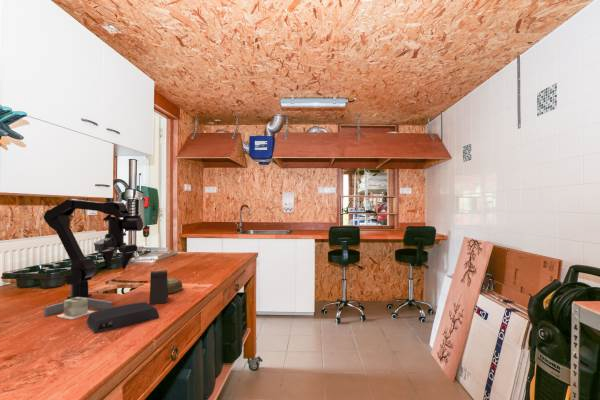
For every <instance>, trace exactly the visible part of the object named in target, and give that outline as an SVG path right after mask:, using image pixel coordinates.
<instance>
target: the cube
mask: <svg viewBox="0 0 600 400" xmlns="http://www.w3.org/2000/svg"><path fill="white" fill-rule="evenodd" d="M88 298H89V297H85V298H83V297H76V298H67V299H65V300H63V302H64V311H63V314H64V315H67V316H72V317H74V316H77V315H81V314H84V313H87V312H88V310H89V307H88Z"/></svg>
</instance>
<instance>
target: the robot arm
mask: <svg viewBox="0 0 600 400" xmlns="http://www.w3.org/2000/svg"><path fill="white" fill-rule="evenodd" d="M77 209H78V210H85V211H95V212H101V213H102V214H105V215H106V216H105V217H104V218H102V221H103V222H104V221H106V222H108V223H107V225H108V228H107V232H108V233H105V234H104V237H103V238H102V239H99V240H98V241H95V242H94V243H93V245H94V251H95V252H97V254H100V255H101V256H102V258H103V261H104V263H105V266H106V268H110V267H111V264H112V261H113V255H114V251H115V250H116V251H118V252H119V253H118V255H119V256H120V258H121V259H120V260H121V268H122V270H125V269H126V268H127V266H128V264H129V262H130V260H131V258H132V256H133V255H134V254H136V252H138V245H137V244H131V243H128V244H127V243H126V242H124V240H125V239H124V238H125V236H127V233H126V232H141V231H142V230H143V229H144V222H143V219H142V217H141V216H142V215H141V214H136V215H132V214H131V213H130V212H129V210H128V209H127V207H126V204H125V203H124V202H123V201H103V202H100V201H91V200H83V199H77V198H67V199H66V200H64V201H63V202H62V203H59V204H57V205H56V206H54V207H52V208H51V209H48V210H46V211H45V213H44V215H43V219H44V221H45V223H46V224H47V225H48V227H50V228H51V229H52V230H53V231H55V232H56V234H57V236H58V238H59V240H60V242H61V244H62V246H63V248H64V250H65V253H66V254H67V255H68V258H69V259H70V263H71V264H70V271H71V274H70V275H69V276H68V277H67V278H66V279H65V282H66V285H69V286H70V295H68V296H66V298H67V299H70V298H76V297H85V298H88V297H90V296H92V293H89V281H92V279H93V276H94V275H95V273H96V271H97V269H96V267H97V265H96V263H94V259H93V258H92V257H90V258H87V257H86V256H85V255H84V253H83V250H82V249H81V247H80V245H79V243H78V241H77V240H76V239H77V238H76V237H75V235H74V233H73V231H72V229H71V226H70V225H71V218H70V216H72V215H73V213H75V210H77ZM124 231H125V232H124Z"/></svg>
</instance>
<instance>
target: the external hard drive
mask: <svg viewBox="0 0 600 400" xmlns="http://www.w3.org/2000/svg"><path fill="white" fill-rule="evenodd" d="M159 318H160V314H159V312H158V309H157V307H154V306H153V305H150V304H149V303H148V302H147V301H141V302H134V303H127V304H121V305H116V306H113V307H111V308H107V309H103V310H101V309H98V310H96V311H95V312H92V313H90V314H88V316H87V319H86V325H87V327H88V328H89V329H90V330H91V331H92V333H93V334H98V333H104V332H107V331H111V330H112V329H113V330H117V329H121V328H124V327H130V326H134V325H137V324H138V325H139V324H142V323H146V322H150V321H153V320H156V319H159Z"/></svg>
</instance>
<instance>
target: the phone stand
mask: <svg viewBox="0 0 600 400" xmlns="http://www.w3.org/2000/svg"><path fill="white" fill-rule="evenodd" d="M167 278H168V270H153V271H150V280H149V281H150V283H149V285H150V286H149V303H148V304H150V305H151V306H153V305H162V304H163V305H164V304H167V302H168V299H169V293H168V281H167Z"/></svg>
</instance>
